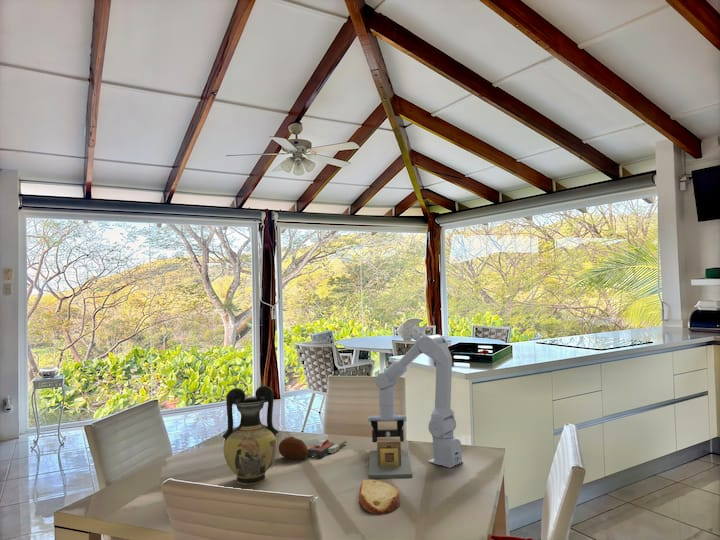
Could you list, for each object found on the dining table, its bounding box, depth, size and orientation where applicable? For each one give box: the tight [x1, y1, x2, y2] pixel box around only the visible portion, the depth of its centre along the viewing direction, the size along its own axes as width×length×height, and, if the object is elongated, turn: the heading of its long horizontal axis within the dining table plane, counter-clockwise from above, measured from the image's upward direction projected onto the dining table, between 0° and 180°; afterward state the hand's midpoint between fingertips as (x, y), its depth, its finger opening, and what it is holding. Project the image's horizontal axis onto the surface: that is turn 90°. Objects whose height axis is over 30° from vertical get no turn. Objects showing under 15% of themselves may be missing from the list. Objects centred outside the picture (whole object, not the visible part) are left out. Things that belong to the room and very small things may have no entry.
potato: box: [278, 436, 309, 460], centre depth 177 cm, size 8×12×8 cm, turn 78°
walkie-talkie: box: [307, 438, 347, 458], centre depth 185 cm, size 9×4×20 cm
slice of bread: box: [358, 478, 401, 516], centre depth 137 cm, size 18×18×4 cm
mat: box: [368, 449, 413, 479], centre depth 166 cm, size 26×14×1 cm, turn 178°
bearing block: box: [376, 437, 402, 466], centre depth 166 cm, size 6×8×8 cm
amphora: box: [222, 385, 279, 486], centre depth 157 cm, size 18×17×30 cm
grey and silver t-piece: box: [371, 428, 405, 447], centre depth 174 cm, size 22×12×4 cm, turn 178°
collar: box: [380, 446, 399, 467], centre depth 162 cm, size 2×6×6 cm, turn 88°
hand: (388, 440), depth 181 cm, fingers open, 7 cm apart
